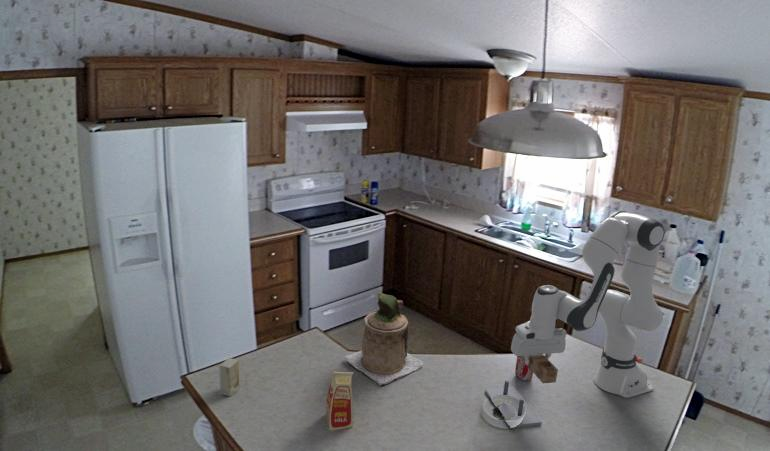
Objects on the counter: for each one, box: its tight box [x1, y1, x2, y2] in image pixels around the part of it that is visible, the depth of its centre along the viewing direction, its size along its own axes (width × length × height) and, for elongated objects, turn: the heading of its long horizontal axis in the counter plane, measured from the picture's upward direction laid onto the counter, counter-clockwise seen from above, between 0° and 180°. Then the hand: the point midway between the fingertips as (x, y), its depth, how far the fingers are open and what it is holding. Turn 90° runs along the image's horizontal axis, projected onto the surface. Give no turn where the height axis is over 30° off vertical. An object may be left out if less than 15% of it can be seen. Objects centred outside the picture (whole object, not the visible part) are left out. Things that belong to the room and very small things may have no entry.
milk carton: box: [325, 371, 355, 431], centre depth 187 cm, size 9×9×20 cm
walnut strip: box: [519, 354, 559, 384], centre depth 197 cm, size 20×5×5 cm, turn 14°
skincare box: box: [219, 357, 240, 397], centre depth 201 cm, size 6×4×12 cm
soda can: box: [514, 356, 534, 381], centre depth 219 cm, size 7×7×12 cm
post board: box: [484, 380, 542, 429], centre depth 200 cm, size 12×22×7 cm, turn 13°
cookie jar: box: [344, 292, 424, 386], centre depth 221 cm, size 25×25×32 cm
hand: (535, 363), depth 197 cm, fingers closed on walnut strip, 5 cm apart
